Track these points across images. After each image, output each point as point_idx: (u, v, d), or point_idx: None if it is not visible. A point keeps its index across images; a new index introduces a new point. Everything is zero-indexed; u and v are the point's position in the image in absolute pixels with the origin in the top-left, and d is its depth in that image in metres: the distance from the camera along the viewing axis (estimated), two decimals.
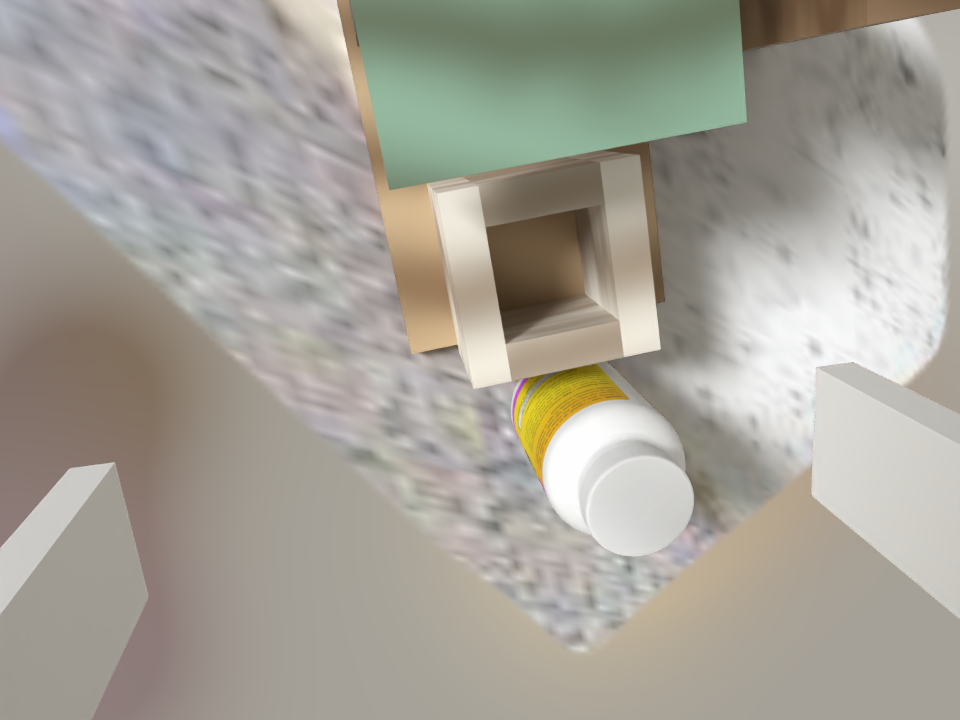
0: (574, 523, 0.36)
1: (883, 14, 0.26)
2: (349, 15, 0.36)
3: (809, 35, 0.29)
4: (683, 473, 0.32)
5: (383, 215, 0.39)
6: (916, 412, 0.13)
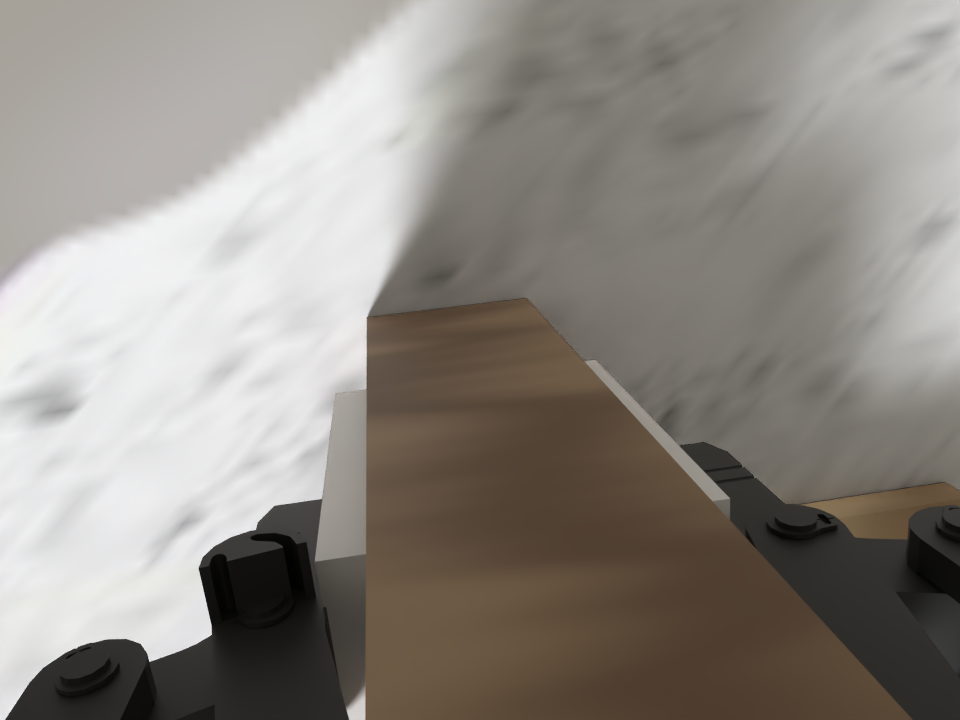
0: None
1: None
2: None
3: None
4: None
5: None
6: None
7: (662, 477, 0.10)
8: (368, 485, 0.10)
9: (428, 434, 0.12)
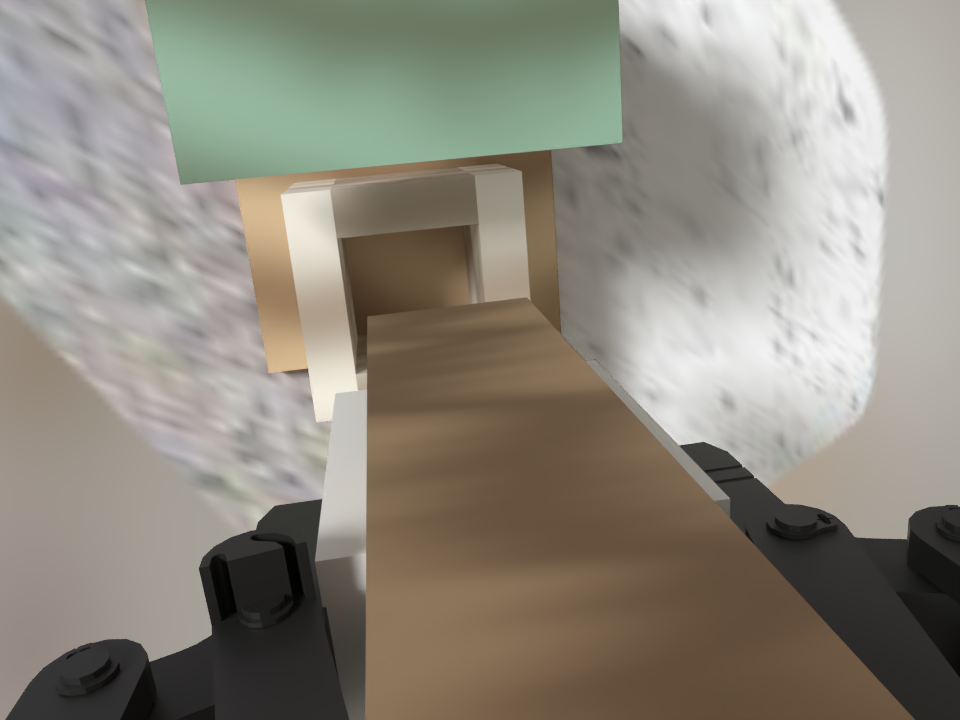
0: None
1: None
2: None
3: None
4: None
5: (242, 214, 0.35)
6: None
7: (663, 476, 0.10)
8: (368, 484, 0.10)
9: (428, 433, 0.12)
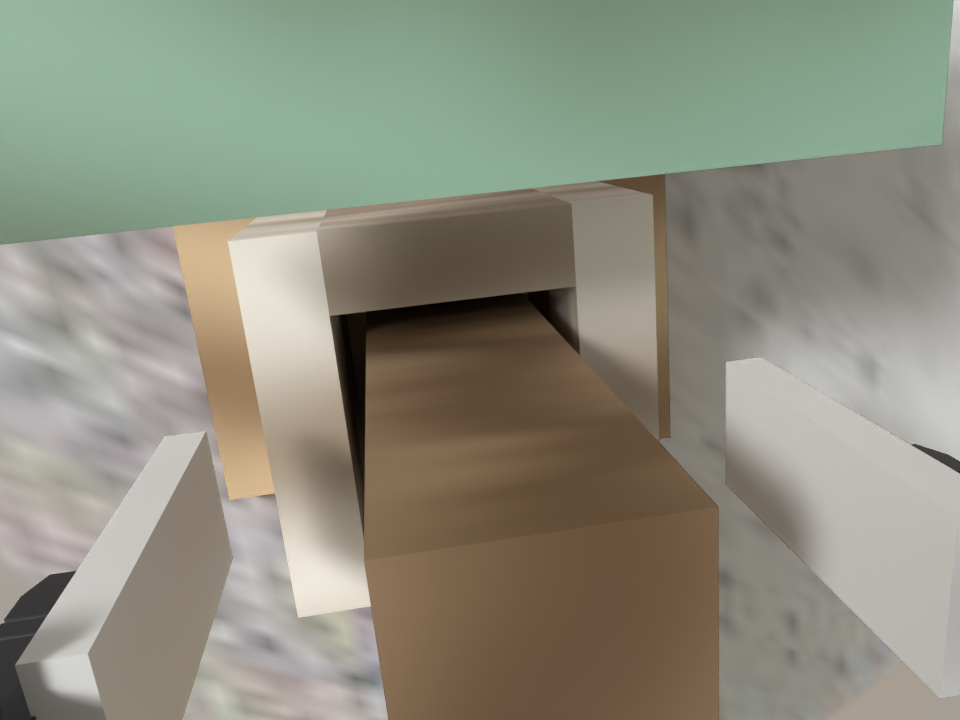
0: None
1: None
2: None
3: None
4: None
5: (182, 261, 0.22)
6: (804, 403, 0.13)
7: (585, 385, 0.13)
8: (367, 394, 0.14)
9: (414, 364, 0.15)
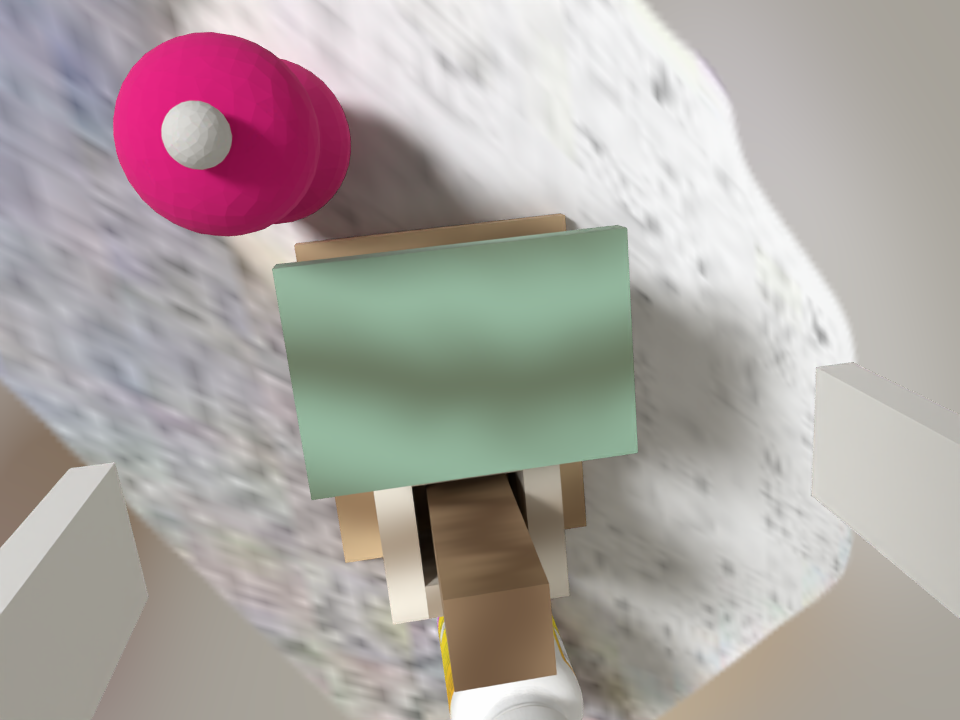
0: None
1: (549, 663, 0.30)
2: None
3: None
4: None
5: None
6: (916, 412, 0.13)
7: (519, 529, 0.34)
8: (433, 531, 0.34)
9: (450, 514, 0.36)
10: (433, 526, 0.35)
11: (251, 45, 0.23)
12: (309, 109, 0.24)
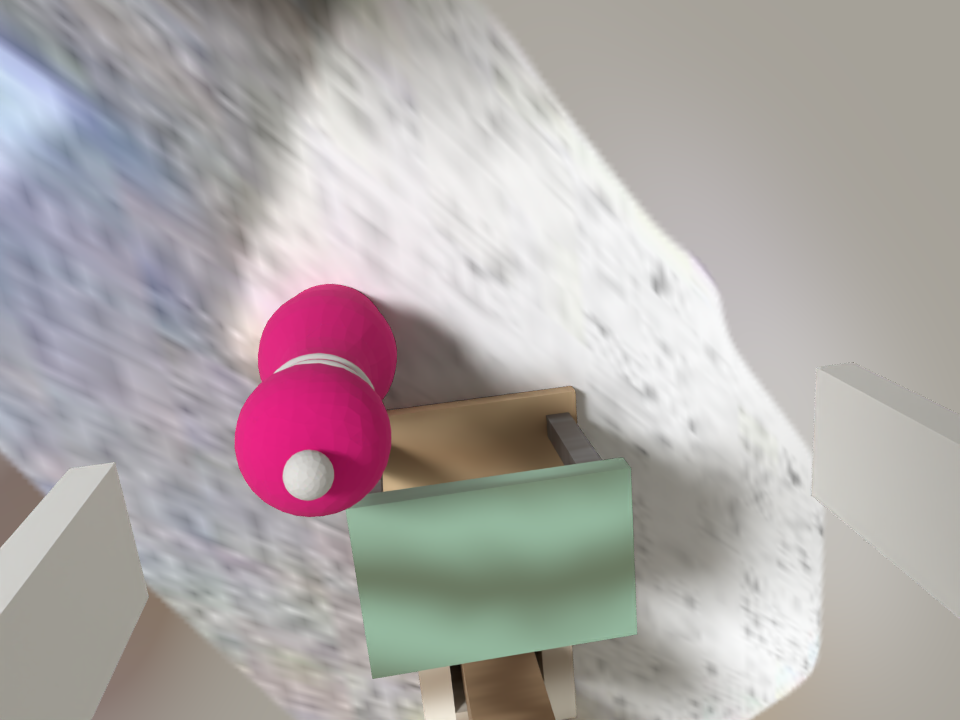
0: None
1: None
2: None
3: None
4: None
5: None
6: (916, 412, 0.13)
7: (538, 685, 0.41)
8: (466, 684, 0.41)
9: (480, 664, 0.43)
10: (466, 678, 0.42)
11: (343, 383, 0.29)
12: (385, 423, 0.30)
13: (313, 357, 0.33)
